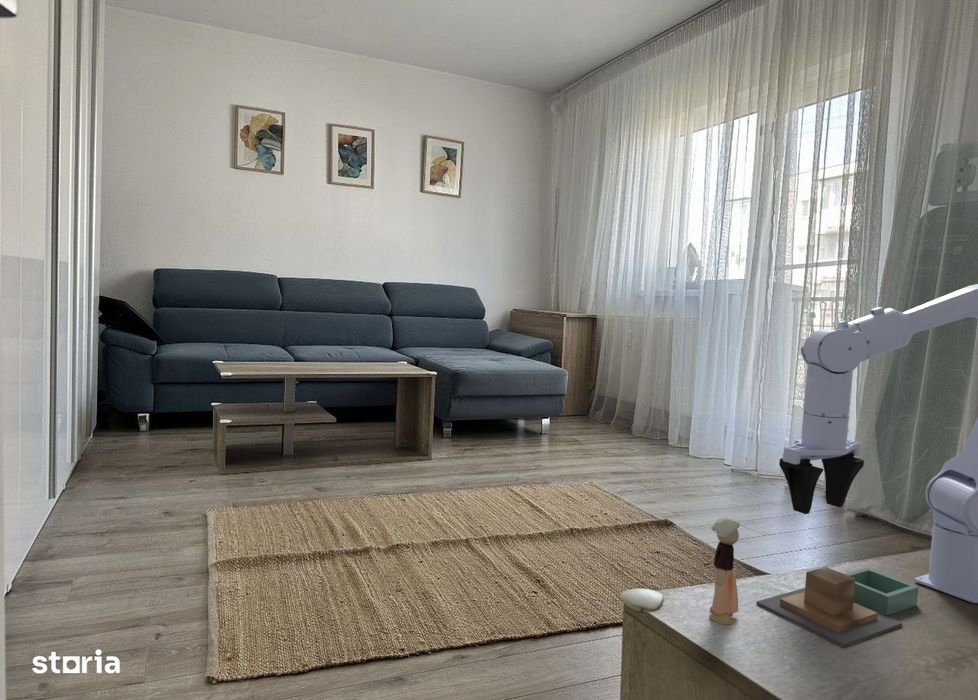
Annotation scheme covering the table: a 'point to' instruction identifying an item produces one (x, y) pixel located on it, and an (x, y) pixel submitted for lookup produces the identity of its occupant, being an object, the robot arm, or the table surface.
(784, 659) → the table surface
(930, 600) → the table surface
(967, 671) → the table surface
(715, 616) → the grandmother figurine
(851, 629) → the mat
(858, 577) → the green storage tray
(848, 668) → the table surface
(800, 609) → the lid
